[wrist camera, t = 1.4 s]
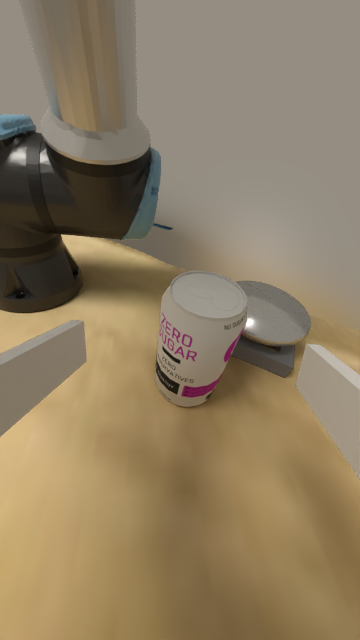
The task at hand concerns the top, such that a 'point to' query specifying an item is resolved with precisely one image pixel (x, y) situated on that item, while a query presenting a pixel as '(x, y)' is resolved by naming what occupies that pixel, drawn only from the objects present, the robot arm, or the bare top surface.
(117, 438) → the top surface
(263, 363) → the scale frame
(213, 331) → the supplement can
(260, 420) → the top surface
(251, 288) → the scale plate
